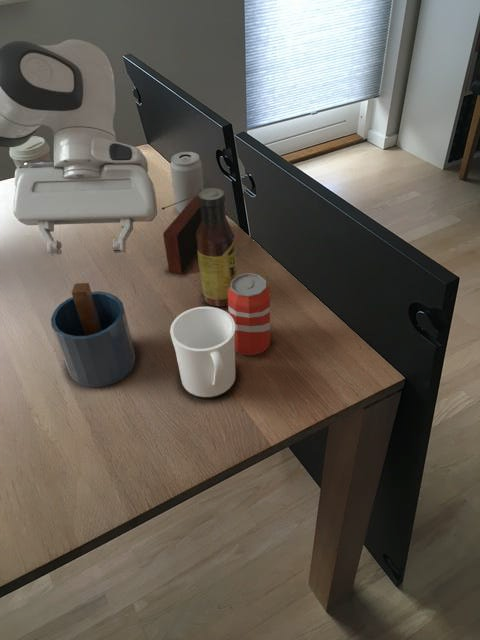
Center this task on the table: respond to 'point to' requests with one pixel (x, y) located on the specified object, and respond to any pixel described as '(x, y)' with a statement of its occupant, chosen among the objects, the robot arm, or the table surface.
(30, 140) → the coffee cup
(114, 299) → the blue bin
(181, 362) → the mug
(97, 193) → the robot arm
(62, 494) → the table surface
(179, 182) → the beverage can
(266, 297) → the beverage can
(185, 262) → the radio
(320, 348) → the table surface
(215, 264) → the sauce bottle
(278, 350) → the table surface
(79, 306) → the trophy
